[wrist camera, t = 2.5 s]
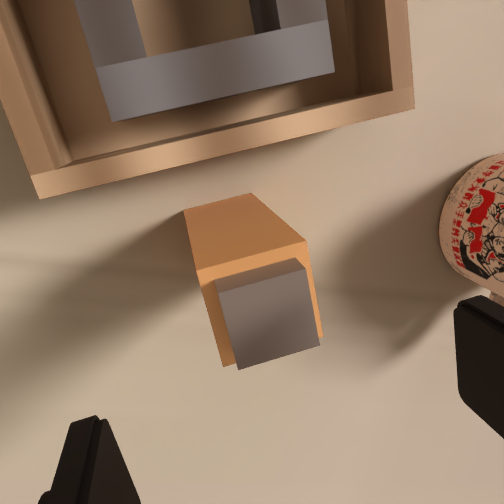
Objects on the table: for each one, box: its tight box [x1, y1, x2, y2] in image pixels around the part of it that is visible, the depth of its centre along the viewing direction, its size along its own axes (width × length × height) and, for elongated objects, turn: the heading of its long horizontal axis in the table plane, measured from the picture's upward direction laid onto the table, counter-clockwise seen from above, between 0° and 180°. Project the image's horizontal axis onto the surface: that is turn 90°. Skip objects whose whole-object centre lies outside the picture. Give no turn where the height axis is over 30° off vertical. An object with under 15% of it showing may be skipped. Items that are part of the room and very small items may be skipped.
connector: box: [183, 193, 323, 370], centre depth 19 cm, size 4×4×11 cm
